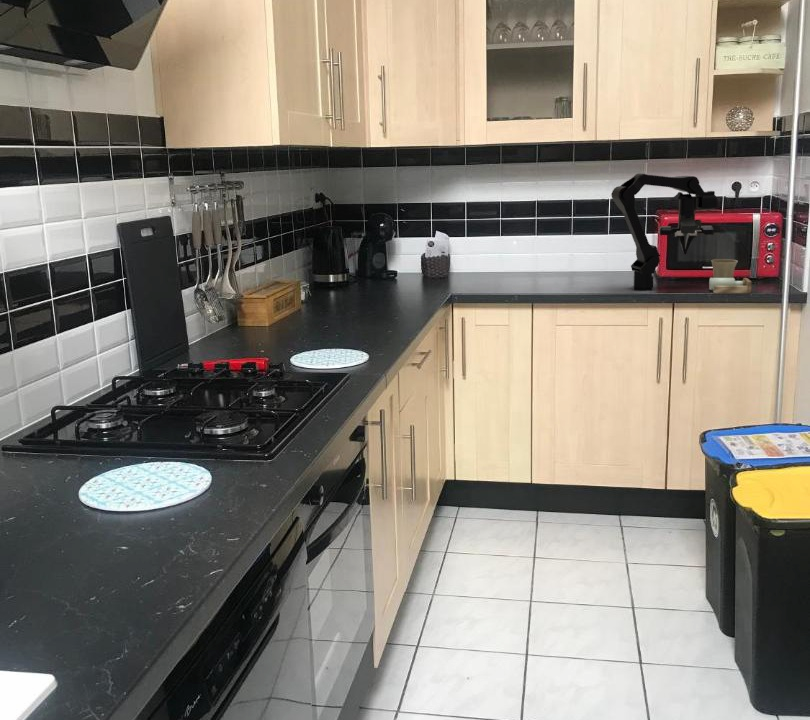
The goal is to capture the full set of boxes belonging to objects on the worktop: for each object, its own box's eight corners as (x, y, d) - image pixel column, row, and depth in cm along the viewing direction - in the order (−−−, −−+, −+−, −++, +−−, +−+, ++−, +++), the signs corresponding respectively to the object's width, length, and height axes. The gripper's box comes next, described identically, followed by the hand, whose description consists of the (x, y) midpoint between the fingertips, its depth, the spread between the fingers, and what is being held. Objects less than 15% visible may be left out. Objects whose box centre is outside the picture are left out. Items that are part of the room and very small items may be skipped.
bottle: (711, 277, 297) (745, 278, 295) (709, 277, 301) (743, 277, 299) (710, 290, 298) (745, 290, 295) (708, 289, 302) (742, 289, 300)
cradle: (714, 293, 296) (714, 281, 295) (710, 288, 304) (711, 277, 303) (750, 293, 293) (751, 281, 292) (746, 288, 301) (746, 277, 300)
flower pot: (732, 281, 318) (733, 258, 316) (739, 285, 309) (741, 262, 306) (706, 281, 319) (708, 259, 316) (713, 285, 310) (714, 262, 307)
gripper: (662, 213, 298) (660, 257, 302) (717, 212, 294) (714, 256, 298) (659, 210, 309) (657, 253, 313) (712, 210, 305) (710, 252, 309)
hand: (684, 254), depth 308 cm, fingers closed
